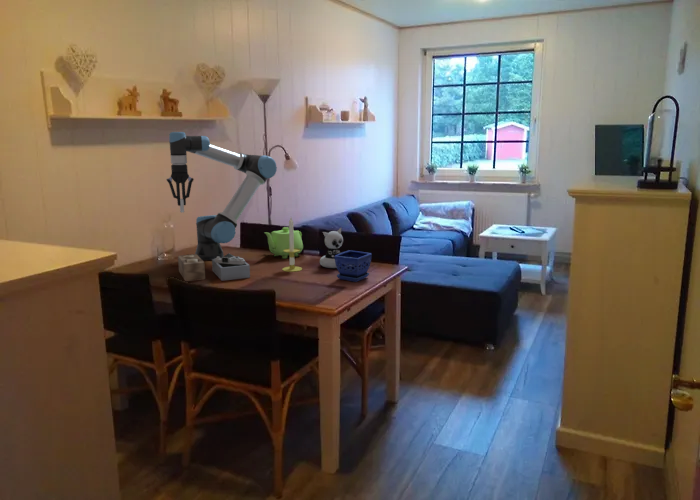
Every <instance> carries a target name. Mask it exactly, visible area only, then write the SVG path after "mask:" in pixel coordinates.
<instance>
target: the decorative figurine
mask: <svg viewBox="0 0 700 500" xmlns="http://www.w3.org/2000/svg"><path fill="white" fill-rule="evenodd" d="M322 233H323V235H324V236H323V237H324V244H325V246H326V248H328V249H327V251H326V254H325V255H323V256H322V257H320V259H319V264H320V266H322V267H323V268H327V269H337V267H336V264H335V258H334V257H335V255H338V254H340V253H341V251H340V248H341V247H342V245H343V243H344V237H343V235H342V226H341V227H339V229H338V230H337V231H336V230H332V231H329V232H326V231H322Z"/></svg>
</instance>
